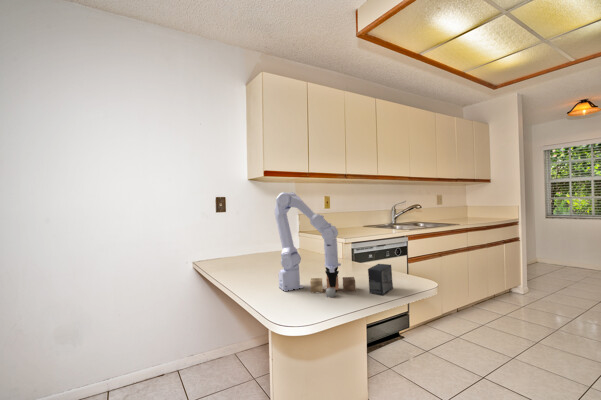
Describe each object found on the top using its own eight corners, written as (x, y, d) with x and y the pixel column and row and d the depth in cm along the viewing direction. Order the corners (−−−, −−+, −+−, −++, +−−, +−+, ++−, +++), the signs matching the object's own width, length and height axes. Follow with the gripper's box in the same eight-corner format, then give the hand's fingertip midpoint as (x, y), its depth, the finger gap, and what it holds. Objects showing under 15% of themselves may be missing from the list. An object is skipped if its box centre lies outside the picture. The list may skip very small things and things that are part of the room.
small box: (379, 286, 131) (378, 263, 131) (393, 288, 127) (392, 264, 127) (368, 293, 123) (367, 268, 123) (383, 295, 119) (381, 269, 119)
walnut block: (343, 292, 126) (343, 280, 126) (343, 288, 131) (342, 277, 131) (355, 291, 126) (355, 280, 126) (354, 288, 131) (354, 276, 131)
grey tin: (329, 298, 119) (328, 291, 119) (324, 295, 123) (324, 288, 123) (337, 296, 121) (337, 289, 121) (332, 294, 125) (332, 286, 125)
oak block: (311, 293, 128) (310, 281, 128) (311, 289, 133) (310, 278, 133) (322, 292, 127) (321, 281, 127) (322, 289, 132) (322, 277, 132)
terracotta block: (327, 290, 127) (326, 278, 127) (327, 286, 132) (326, 275, 132) (338, 289, 127) (338, 278, 127) (338, 286, 132) (337, 275, 132)
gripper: (341, 257, 122) (342, 289, 122) (339, 250, 136) (341, 280, 136) (323, 257, 122) (325, 290, 122) (324, 251, 137) (325, 280, 137)
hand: (332, 284), depth 129 cm, fingers closed on terracotta block, 5 cm apart
